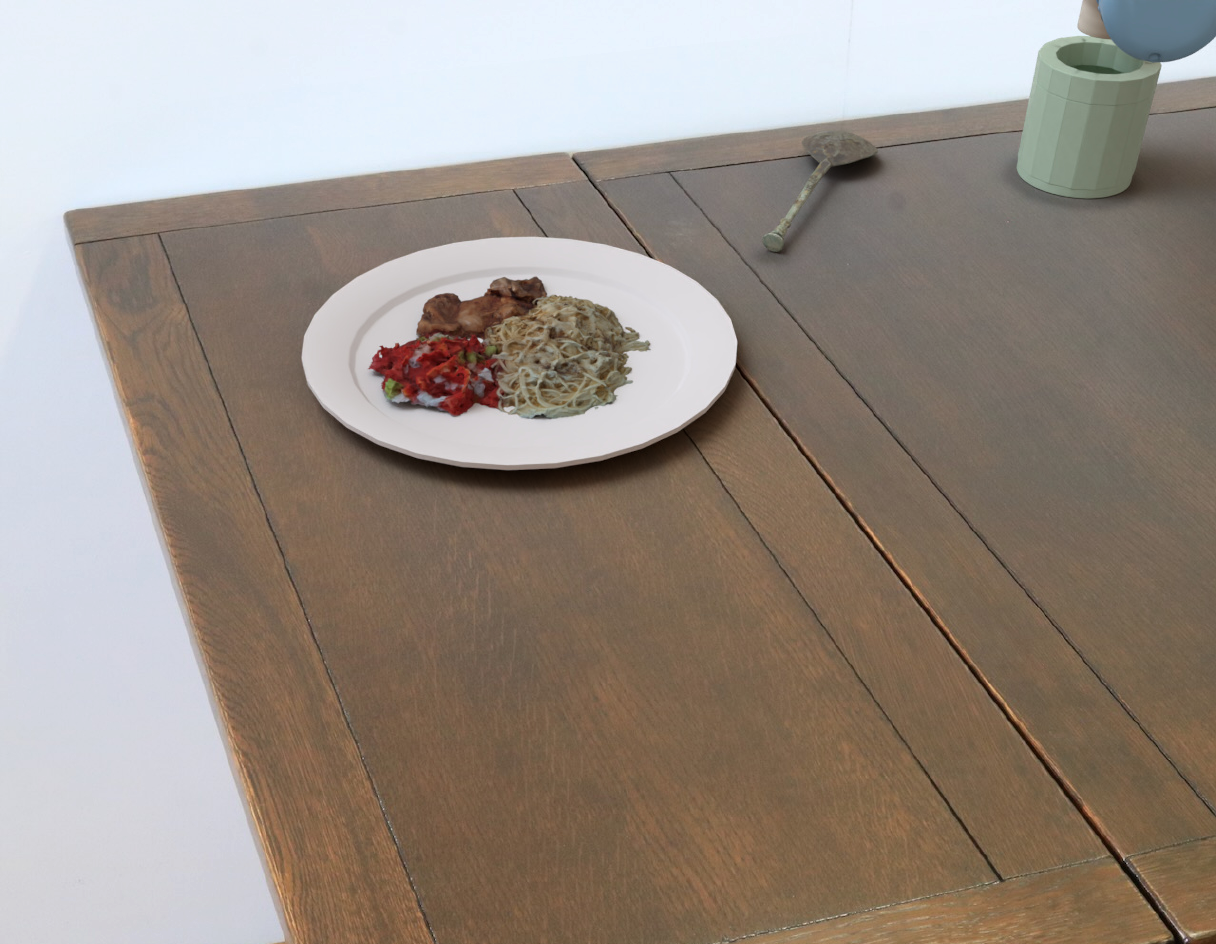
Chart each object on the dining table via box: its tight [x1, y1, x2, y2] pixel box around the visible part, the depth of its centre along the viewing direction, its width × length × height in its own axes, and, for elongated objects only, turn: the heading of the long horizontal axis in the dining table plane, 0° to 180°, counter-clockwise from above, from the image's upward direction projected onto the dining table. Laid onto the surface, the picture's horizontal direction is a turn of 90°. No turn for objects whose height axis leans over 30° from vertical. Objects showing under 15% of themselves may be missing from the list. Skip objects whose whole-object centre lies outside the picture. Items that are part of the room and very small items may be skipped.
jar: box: [1016, 35, 1163, 199], centre depth 125 cm, size 10×10×10 cm
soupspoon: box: [762, 129, 879, 253], centre depth 124 cm, size 22×3×7 cm
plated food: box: [301, 236, 738, 471], centre depth 103 cm, size 30×30×3 cm
